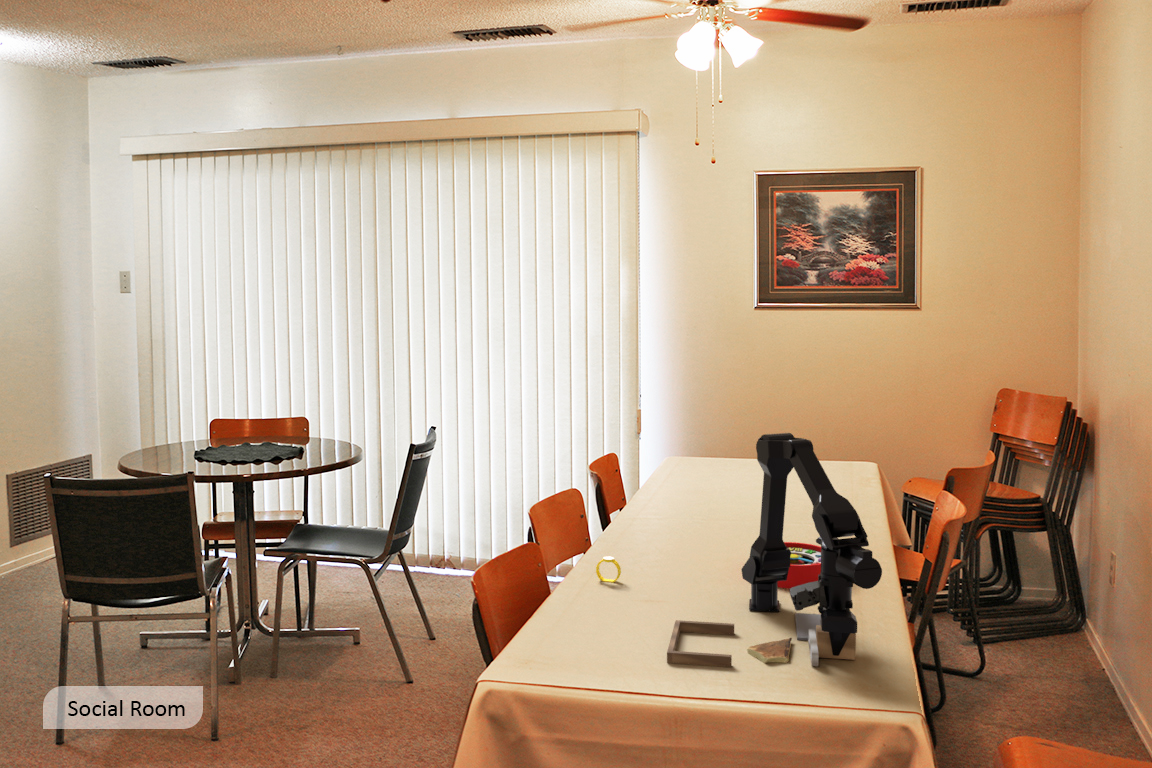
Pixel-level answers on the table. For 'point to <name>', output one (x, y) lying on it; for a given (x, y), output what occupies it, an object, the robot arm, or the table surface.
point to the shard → (772, 651)
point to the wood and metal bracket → (828, 646)
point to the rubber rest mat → (806, 624)
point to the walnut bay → (695, 657)
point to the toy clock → (802, 564)
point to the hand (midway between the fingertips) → (834, 651)
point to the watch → (608, 559)
